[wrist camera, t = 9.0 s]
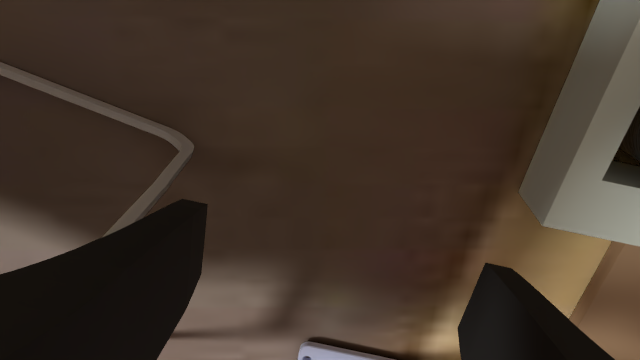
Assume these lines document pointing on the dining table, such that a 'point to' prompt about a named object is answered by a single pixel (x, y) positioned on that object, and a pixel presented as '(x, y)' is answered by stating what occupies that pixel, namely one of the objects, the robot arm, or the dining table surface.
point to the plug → (632, 138)
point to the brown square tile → (613, 303)
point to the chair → (169, 134)
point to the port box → (592, 135)
